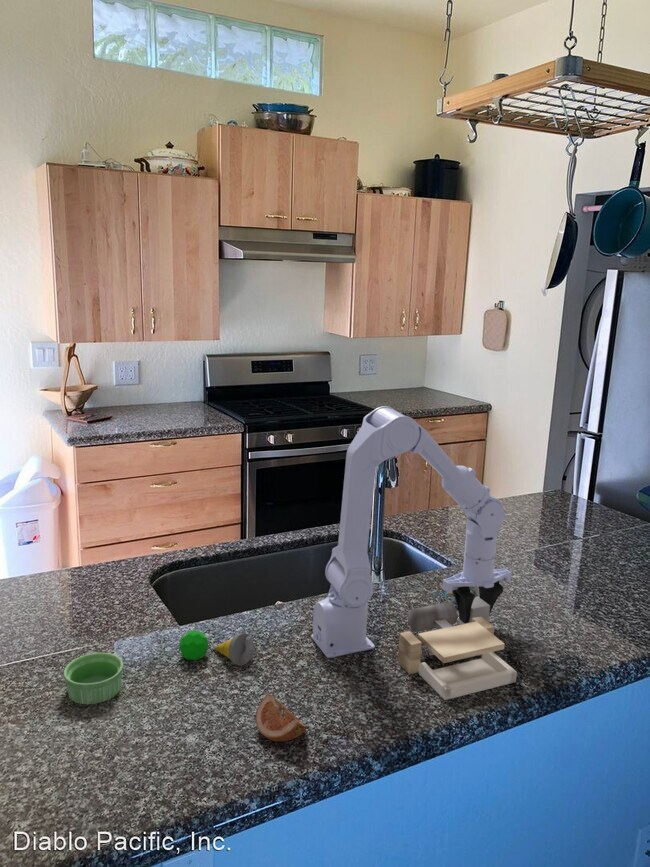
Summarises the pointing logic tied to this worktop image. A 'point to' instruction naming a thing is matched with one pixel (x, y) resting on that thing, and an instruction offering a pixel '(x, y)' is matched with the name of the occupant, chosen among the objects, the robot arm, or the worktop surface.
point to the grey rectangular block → (478, 610)
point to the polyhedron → (193, 645)
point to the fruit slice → (277, 720)
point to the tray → (468, 676)
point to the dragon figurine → (453, 595)
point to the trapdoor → (451, 633)
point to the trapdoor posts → (412, 647)
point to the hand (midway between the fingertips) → (473, 619)
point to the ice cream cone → (238, 649)
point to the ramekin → (93, 677)
